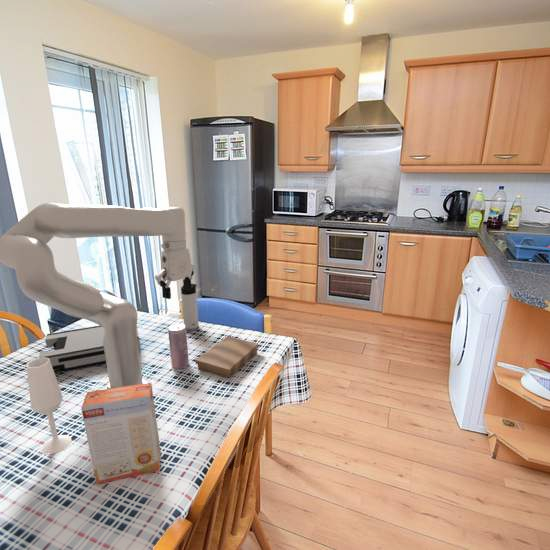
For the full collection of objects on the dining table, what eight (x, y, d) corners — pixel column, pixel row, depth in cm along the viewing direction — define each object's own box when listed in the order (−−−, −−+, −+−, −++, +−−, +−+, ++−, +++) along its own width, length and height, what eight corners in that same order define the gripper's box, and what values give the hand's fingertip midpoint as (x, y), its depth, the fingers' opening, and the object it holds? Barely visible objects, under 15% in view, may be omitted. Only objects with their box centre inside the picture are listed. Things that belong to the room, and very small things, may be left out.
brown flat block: (229, 380, 120) (229, 369, 119) (196, 369, 126) (195, 359, 125) (258, 353, 137) (258, 343, 136) (228, 345, 144) (227, 336, 142)
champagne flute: (43, 439, 95) (24, 358, 88) (72, 432, 98) (56, 353, 90) (39, 457, 89) (18, 372, 82) (70, 449, 92) (52, 366, 85)
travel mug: (197, 331, 156) (194, 287, 150) (182, 331, 156) (178, 287, 150) (201, 324, 161) (197, 282, 155) (186, 324, 162) (182, 282, 156)
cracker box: (161, 453, 90) (152, 380, 84) (160, 472, 85) (150, 396, 79) (100, 464, 87) (86, 389, 81) (95, 485, 82) (80, 406, 75)
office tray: (50, 350, 141) (46, 331, 138) (137, 334, 153) (135, 317, 151) (42, 378, 123) (37, 356, 120) (141, 358, 135) (138, 338, 132)
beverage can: (182, 359, 134) (178, 321, 129) (192, 364, 130) (189, 326, 125) (168, 365, 129) (164, 327, 125) (178, 371, 126) (174, 332, 121)
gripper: (162, 250, 110) (166, 303, 115) (201, 242, 125) (202, 289, 129) (145, 248, 114) (149, 299, 118) (184, 240, 128) (187, 286, 133)
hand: (177, 294), depth 124 cm, fingers open, 9 cm apart
